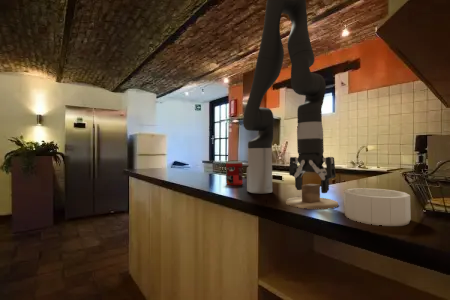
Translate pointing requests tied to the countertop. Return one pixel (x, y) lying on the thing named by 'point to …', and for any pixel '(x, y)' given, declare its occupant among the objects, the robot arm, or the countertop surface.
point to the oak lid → (311, 199)
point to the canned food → (234, 173)
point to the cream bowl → (377, 206)
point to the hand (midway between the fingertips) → (311, 191)
